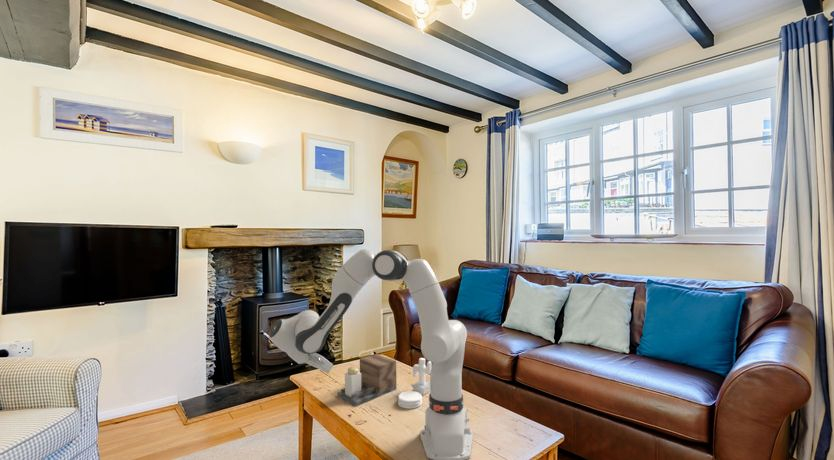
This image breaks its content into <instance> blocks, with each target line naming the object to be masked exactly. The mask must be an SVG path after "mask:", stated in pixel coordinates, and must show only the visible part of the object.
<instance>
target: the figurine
mask: <svg viewBox="0 0 834 460" xmlns="http://www.w3.org/2000/svg"><path fill="white" fill-rule="evenodd" d="M431 368H432V362H430V361H427V362H426V358H425V357H420V358H419V359H418V363H417V364H414V365H413V367H412V373H413V374H412V375H413V377H419V378H418V379H419V380H417V381H415V382H412V383H411V384H410V385H411V387H412V389H413V391H416V392H418V393H420V394H421V395H422V396H424V395H426V394H427V393H430V381H427V380H426V375H430V372H431ZM418 372H419V373H418Z"/></svg>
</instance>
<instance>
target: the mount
mask: <svg viewBox="0 0 834 460" xmlns="http://www.w3.org/2000/svg"><path fill="white" fill-rule="evenodd" d="M359 372H360V373H361V391H360V392H358V393H355V394H353V395H351V397H350V396H348V395H346V394H345V387H344V388H341V389H340V391H338V392H336V395H337V397H338V398H340V399H342V400H344V401H345V402H348V403H350V404H351V405H354V406H356V407H358V406H360V405H363V404H365V403H368V402H370V401H373V400H375V399H377V398H380V397H381V396H384V395H386V394H389V393H391V392H394V391H396V390H397V360H396V359H392V358H389V357H387V356H383V355H381V354H378V353H375V354H372V355H369V356H366V357H362V358H360V359H359Z"/></svg>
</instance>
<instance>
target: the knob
mask: <svg viewBox="0 0 834 460" xmlns="http://www.w3.org/2000/svg"><path fill="white" fill-rule="evenodd" d="M344 388H345V394H346V395H348V396H350V397H351V395H353V394H355V393H358V392H360V391H361V373H360V371H359V366H350V367H348V368H347V372H345V373H344Z"/></svg>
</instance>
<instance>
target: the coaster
mask: <svg viewBox="0 0 834 460" xmlns="http://www.w3.org/2000/svg"><path fill="white" fill-rule="evenodd" d="M397 401H398V402H397V404H398V406H399V407H400V408H402V409H407V410H411V409H412V410H414V409H417V408H420V407H421V406H422V404H423V395H422V394H420V393H418V392H416V391H414V390H407V391H406V390H405V391H402V392H400V393H399V394H398V396H397Z"/></svg>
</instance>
